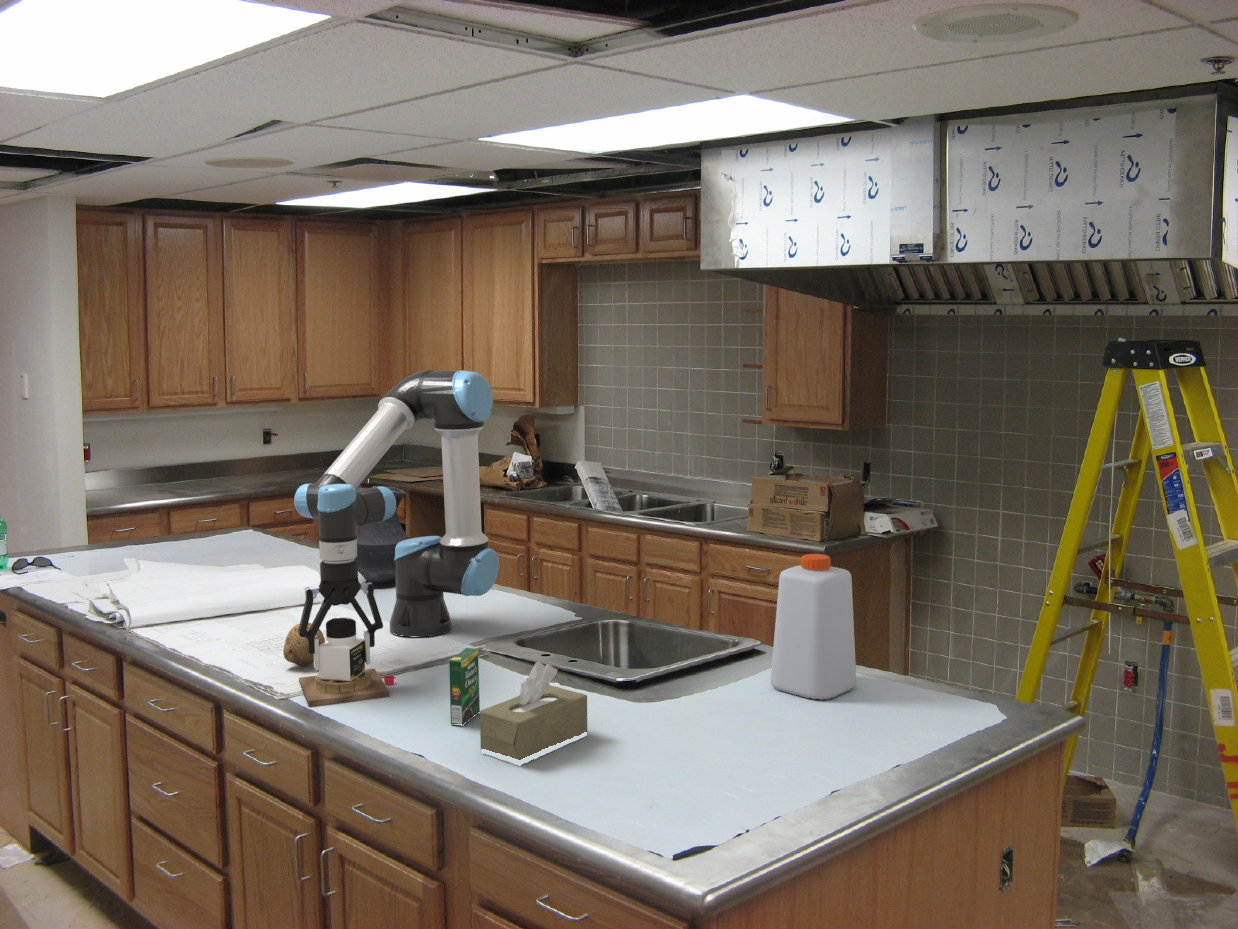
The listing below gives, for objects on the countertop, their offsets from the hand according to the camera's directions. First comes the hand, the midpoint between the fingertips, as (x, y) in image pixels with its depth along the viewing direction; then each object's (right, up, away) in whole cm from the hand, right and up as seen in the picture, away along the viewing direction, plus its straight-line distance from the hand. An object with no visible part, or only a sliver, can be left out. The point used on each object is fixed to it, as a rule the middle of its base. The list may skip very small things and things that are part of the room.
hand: (342, 665), depth 230 cm
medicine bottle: (0, -2, 0) cm, 2 cm away
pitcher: (-14, +6, +93) cm, 94 cm away
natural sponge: (-12, -3, +16) cm, 20 cm away
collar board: (0, -5, +1) cm, 5 cm away
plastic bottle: (+98, -5, +2) cm, 98 cm away
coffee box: (+28, -8, -17) cm, 33 cm away
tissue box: (+42, -9, -29) cm, 52 cm away
